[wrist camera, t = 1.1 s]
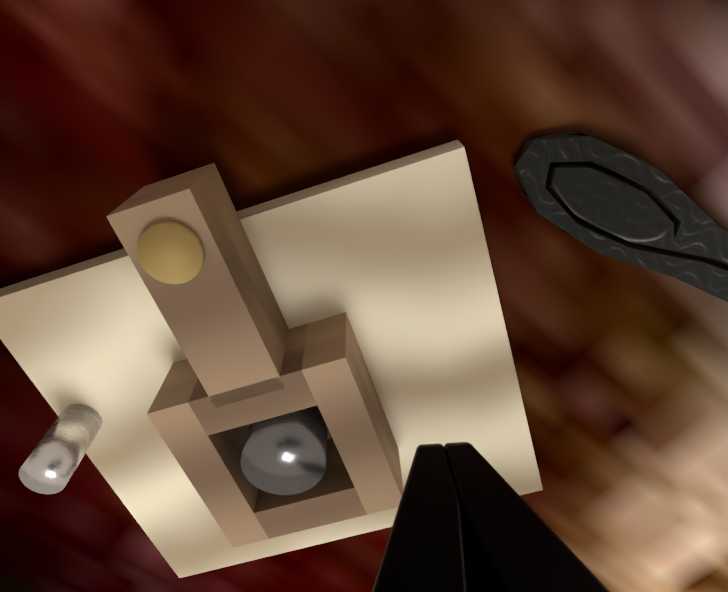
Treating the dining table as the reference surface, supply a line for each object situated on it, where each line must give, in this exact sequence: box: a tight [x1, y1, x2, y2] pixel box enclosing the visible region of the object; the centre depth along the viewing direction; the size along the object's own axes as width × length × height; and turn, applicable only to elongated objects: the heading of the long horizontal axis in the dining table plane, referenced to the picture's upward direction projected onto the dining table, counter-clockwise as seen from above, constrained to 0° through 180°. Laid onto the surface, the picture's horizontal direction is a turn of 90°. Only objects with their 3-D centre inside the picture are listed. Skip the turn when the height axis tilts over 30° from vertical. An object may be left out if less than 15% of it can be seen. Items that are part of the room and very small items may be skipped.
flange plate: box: [106, 163, 403, 548], centre depth 19 cm, size 14×7×3 cm, turn 18°
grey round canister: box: [240, 405, 328, 495], centre depth 21 cm, size 3×3×4 cm
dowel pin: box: [19, 404, 102, 494], centre depth 20 cm, size 2×2×3 cm
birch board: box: [0, 140, 543, 578], centre depth 22 cm, size 16×18×1 cm
